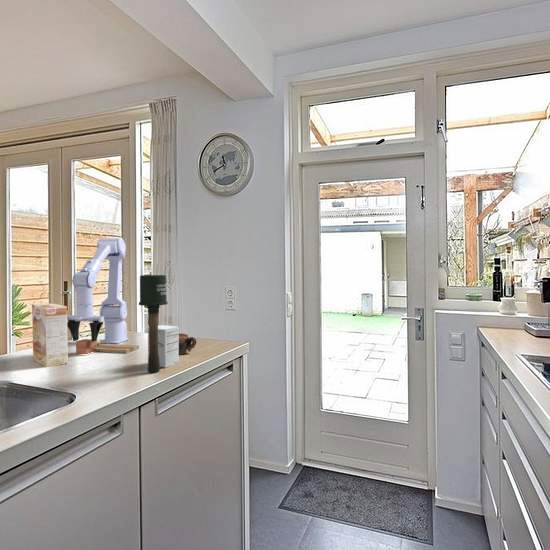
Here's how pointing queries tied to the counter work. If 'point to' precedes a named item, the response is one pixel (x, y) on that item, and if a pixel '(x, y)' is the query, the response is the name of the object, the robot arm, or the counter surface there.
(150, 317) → the stick grenade
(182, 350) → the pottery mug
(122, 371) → the counter surface
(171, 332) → the supplement box
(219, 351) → the counter surface
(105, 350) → the board
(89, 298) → the robot arm
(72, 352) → the counter surface
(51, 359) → the coffeecake box
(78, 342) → the brown block with stick
